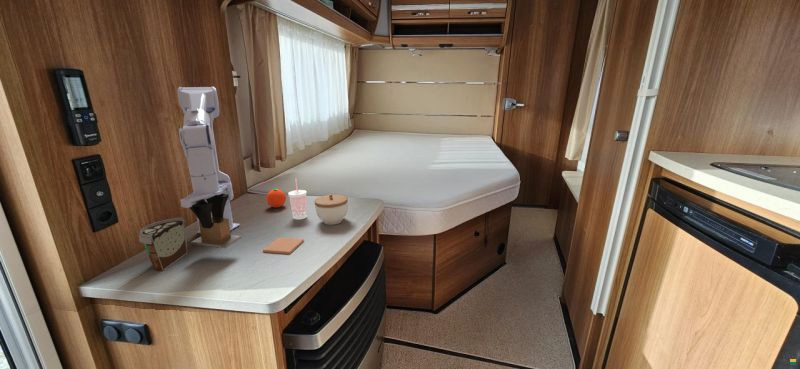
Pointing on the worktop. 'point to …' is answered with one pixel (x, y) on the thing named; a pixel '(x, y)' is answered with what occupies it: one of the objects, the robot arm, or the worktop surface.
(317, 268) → the worktop surface
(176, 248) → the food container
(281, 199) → the clementine
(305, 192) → the beverage cup
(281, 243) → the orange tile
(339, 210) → the lidded jar
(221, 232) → the tan block on plate
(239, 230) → the worktop surface
